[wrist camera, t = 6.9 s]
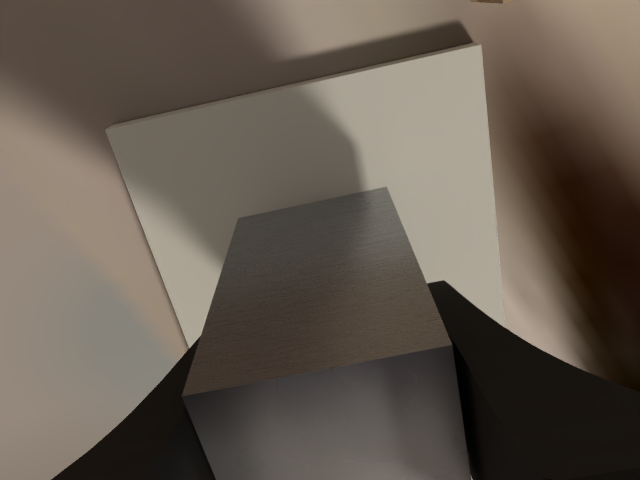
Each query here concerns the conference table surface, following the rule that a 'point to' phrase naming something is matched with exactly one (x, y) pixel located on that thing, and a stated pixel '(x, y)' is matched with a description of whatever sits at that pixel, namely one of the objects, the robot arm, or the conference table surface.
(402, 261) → the key peg
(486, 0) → the holder block
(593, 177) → the conference table surface
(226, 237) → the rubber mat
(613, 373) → the conference table surface
